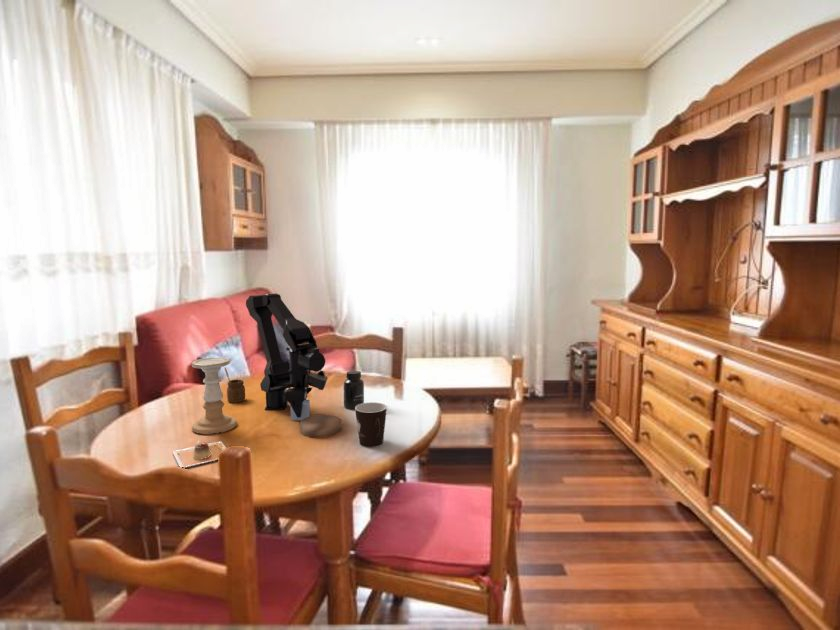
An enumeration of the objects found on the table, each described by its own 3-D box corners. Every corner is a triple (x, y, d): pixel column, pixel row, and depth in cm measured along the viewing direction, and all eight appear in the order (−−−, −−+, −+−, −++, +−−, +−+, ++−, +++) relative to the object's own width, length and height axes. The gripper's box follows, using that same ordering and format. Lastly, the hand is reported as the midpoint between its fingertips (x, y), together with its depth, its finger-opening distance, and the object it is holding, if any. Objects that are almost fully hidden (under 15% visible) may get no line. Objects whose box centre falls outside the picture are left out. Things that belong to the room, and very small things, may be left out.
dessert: (232, 460, 120) (231, 442, 120) (180, 472, 113) (179, 453, 113) (221, 444, 130) (220, 427, 129) (172, 455, 123) (171, 437, 122)
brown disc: (296, 437, 133) (296, 429, 133) (304, 422, 145) (303, 415, 145) (339, 436, 134) (339, 428, 134) (343, 422, 146) (343, 414, 146)
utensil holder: (244, 402, 165) (243, 368, 164) (225, 403, 164) (223, 369, 162) (246, 397, 171) (244, 364, 169) (227, 398, 169) (226, 365, 168)
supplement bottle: (360, 410, 157) (359, 375, 155) (340, 409, 158) (340, 374, 157) (366, 404, 164) (366, 370, 162) (347, 402, 165) (347, 369, 163)
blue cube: (291, 420, 147) (290, 404, 147) (294, 415, 152) (293, 399, 152) (307, 420, 148) (306, 404, 147) (310, 414, 153) (309, 399, 152)
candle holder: (182, 431, 138) (177, 363, 136) (214, 417, 150) (211, 355, 147) (214, 437, 134) (211, 367, 131) (245, 423, 145) (242, 358, 143)
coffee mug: (358, 436, 135) (357, 402, 133) (388, 436, 134) (388, 402, 133) (351, 453, 123) (350, 416, 122) (384, 453, 123) (383, 416, 121)
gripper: (320, 373, 139) (322, 424, 141) (329, 359, 158) (330, 404, 160) (282, 373, 138) (284, 425, 140) (295, 359, 157) (296, 405, 159)
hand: (300, 414), depth 150 cm, fingers closed on blue cube, 5 cm apart
